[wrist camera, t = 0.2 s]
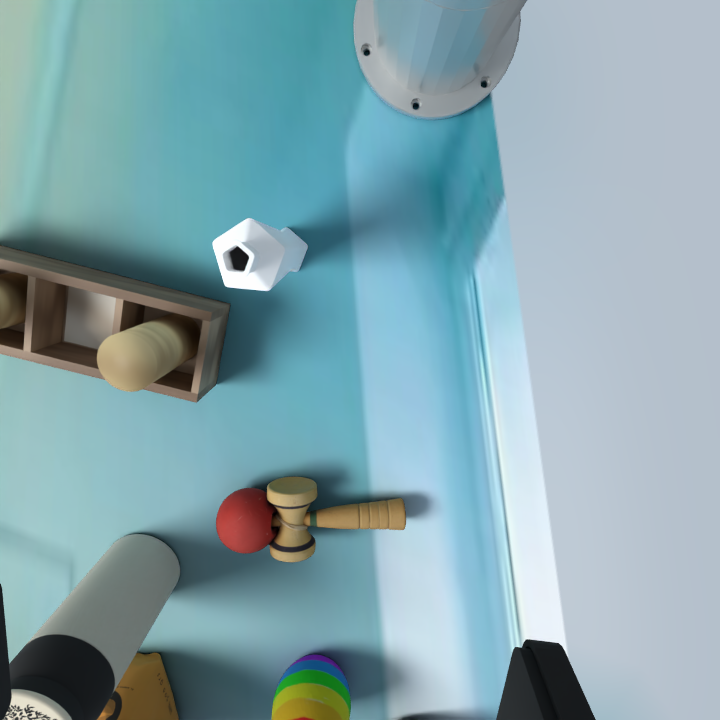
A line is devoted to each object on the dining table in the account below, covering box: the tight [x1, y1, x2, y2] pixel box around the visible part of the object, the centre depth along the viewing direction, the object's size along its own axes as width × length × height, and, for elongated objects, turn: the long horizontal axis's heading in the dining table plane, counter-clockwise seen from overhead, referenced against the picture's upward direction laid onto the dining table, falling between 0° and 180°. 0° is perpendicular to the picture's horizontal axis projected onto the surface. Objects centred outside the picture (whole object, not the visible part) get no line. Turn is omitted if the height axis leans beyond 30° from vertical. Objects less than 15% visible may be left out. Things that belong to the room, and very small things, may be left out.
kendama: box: [216, 477, 406, 562], centre depth 46 cm, size 8×6×18 cm
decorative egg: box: [272, 655, 351, 720], centre depth 49 cm, size 8×8×10 cm
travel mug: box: [3, 534, 180, 720], centre depth 42 cm, size 8×8×18 cm
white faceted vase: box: [213, 218, 308, 291], centre depth 34 cm, size 5×4×15 cm
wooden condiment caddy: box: [0, 245, 230, 403], centre depth 39 cm, size 8×22×10 cm, turn 76°
